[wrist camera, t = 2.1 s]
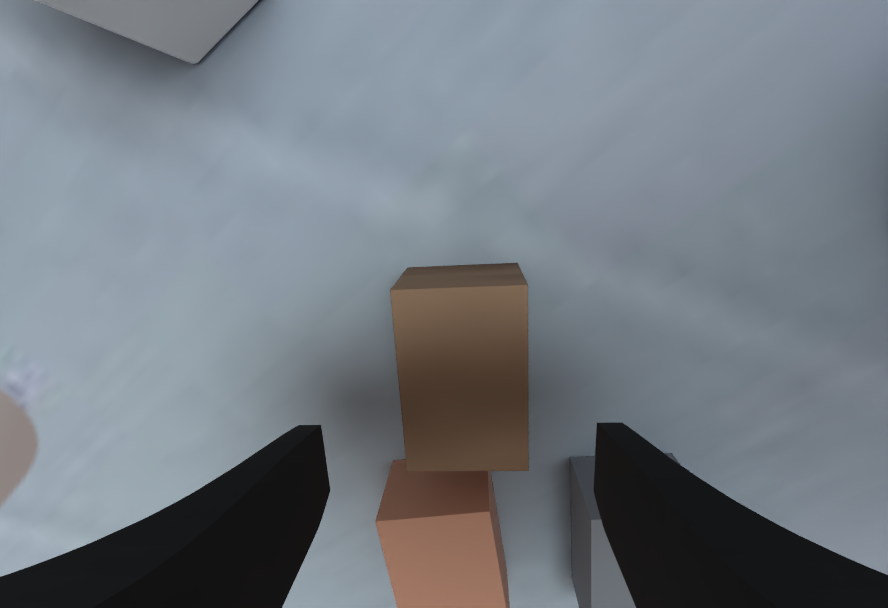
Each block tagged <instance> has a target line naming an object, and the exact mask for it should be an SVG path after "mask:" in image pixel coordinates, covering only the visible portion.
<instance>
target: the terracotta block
mask: <svg viewBox="0 0 888 608" xmlns="http://www.w3.org/2000/svg"><path fill="white" fill-rule="evenodd" d="M375 522H376V526H377V530H378V534H379V538H380V542H381V546H382V550H383V553H384V557H385V561H386V565H387V569H388V573H389V577H390V581H391V585H392V588H393V592H394V596H395V600H396V604H397V608H510V606H509V593H508V580H507V569H506V562H505V556H504V550H503V544H502V538H501V532H500V526H499V520H498V514H497V508H496V502H495V496H494V490H493V484H492V478H491V472H490V471H407V465H406V459H405V460H396V461H393V463H392V466H391V470H390V473H389V477H388V480H387V484H386V487H385V490H384V494H383V497H382V501H381V504H380V507H379V511H378V514H377V518H376V521H375Z"/></svg>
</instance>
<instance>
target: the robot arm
mask: <svg viewBox="0 0 888 608" xmlns="http://www.w3.org/2000/svg"><path fill="white" fill-rule="evenodd" d="M593 491H594V495H595V499H596V503H597V507H598V510H599V514H600V517H601V521H602V524H603V528H604V531H605V533H606V536H607V538H608V541H609V543H610V546H611V548H612V551H613V553H614V556H615V558H616V561H617V563H618V565H619V568H620V570H621V573H622V575H623V577H624V580H625V582H626V585H627V587H628V589H629V592H630V594H631V597H632V599H633V601H634V604H635V606H636V608H888V575H886V574H883V573H881V572H879V571H876V570H874V569H871V568H869V567H866V566H864V565H862V564H860V563H857V562H855V561H853V560H850V559H848V558H846V557H844V556H841V555H839V554H837V553H835V552H833V551H830V550H828V549H826V548H824V547H822V546H820V545H818V544H816V543H814V542H812V541H809V540H807V539H805V538H803V537H801V536H799V535H797V534H795V533H793V532H791V531H789V530H787V529H785V528H783V527H781V526H779V525H777V524H775V523H774V522H772V521H770V520H768V519H766V518H765V517H763V516H761V515H759V514H757V513H756V512H754V511H752V510H750V509H748V508H746V507H745V506H743V505H741V504H740V503H738V502H736V501H734V500H733V499H731V498H729V497H728V496H726V495H725V494H723V493H722V492H720V491H718V490H717V489H715V488H714V487H712V486H711V485H709V484H707V483H706V482H704V481H703V480H701V479H700V478H698V477H697V476H695V475H694V474H692V473H691V472H689V471H688V470H687V469H685V468H684V467H682V466H681V465H679V464H678V463H677V462H675V461H674V460H672V459H671V458H670V457H668V456H667V455H666V454H664V453H663V452H661V451H660V450H659V449H657V448H656V447H655V446H653V445H652V444H651V443H649V442H648V441H647V440H645V439H644V438H643V437H641V436H640V435H639V434H637V433H636V432H635V431H633V430H632V429H630V428H629V427H628V426H626V425H625V424H623V423H597V433H596V452H595V471H594V490H593ZM329 493H330V485H329V478H328V471H327V464H326V457H325V450H324V443H323V436H322V429H321V425H298V426H297V427H295V428H293V429H291V430H290V431H288V432H287V433H285V434H283V435H282V436H280V437H279V438H277V439H276V440H274V441H273V442H271V443H270V444H268V445H267V446H266V447H264V448H263V449H261V450H260V451H258V452H257V453H255V454H254V455H252V456H251V457H249V458H248V459H246V460H245V461H243V462H242V463H240V464H239V465H237V466H236V467H234V468H233V469H231V470H229V471H228V472H226V473H224V474H223V475H221V476H220V477H218V478H216V479H215V480H213V481H212V482H210V483H208V484H207V485H205V486H204V487H202V488H200V489H199V490H197V491H195V492H194V493H192V494H190V495H188V496H187V497H185V498H183V499H181V500H179V501H178V502H176V503H174V504H172V505H170V506H168V507H166V508H164V509H162V510H160V511H159V512H157V513H155V514H153V515H151V516H149V517H147V518H145V519H143V520H141V521H138V522H136V523H134V524H132V525H130V526H127V527H125V528H123V529H121V530H119V531H116V532H114V533H112V534H110V535H108V536H105V537H103V538H101V539H99V540H97V541H94V542H92V543H90V544H87V545H85V546H82V547H80V548H77V549H75V550H72V551H70V552H67V553H65V554H62V555H60V556H57V557H55V558H52V559H49V560H47V561H44V562H41V563H39V564H36V565H33V566H31V567H28V568H25V569H22V570H19V571H16V572H14V573H11V574H8V575H5V576H2V577H0V608H282V606H283V604H284V602H285V600H286V597H287V595H288V593H289V591H290V589H291V587H292V584H293V582H294V580H295V578H296V576H297V574H298V572H299V569H300V567H301V565H302V563H303V561H304V559H305V556H306V554H307V552H308V550H309V548H310V545H311V543H312V541H313V539H314V537H315V534H316V532H317V530H318V527H319V525H320V522H321V519H322V516H323V513H324V509H325V506H326V503H327V499H328V496H329Z"/></svg>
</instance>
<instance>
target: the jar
mask: <svg viewBox="0 0 888 608" xmlns="http://www.w3.org/2000/svg"><path fill="white" fill-rule="evenodd" d="M34 1H37V2H39V3H41V4H44V5H46V6H49V7H51V8H54V9H56V10H59V11H61V12H64V13H66V14H69V15H71V16H74V17H76V18H79V19H81V20H84V21H86V22H89V23H91V24H94V25H96V26H99V27H101V28H104V29H106V30H108V31H111V32H113V33H116V34H118V35H121V36H123V37H126V38H128V39H131V40H133V41H136V42H138V43H141V44H143V45H146V46H148V47H151V48H153V49H156V50H158V51H161V52H163V53H166V54H168V55H170V56H173V57H175V58H178V59H180V60H183V61H185V62H188V63H191V64H196V63H198V62H199V61H200V60H201V59H202V58H203V57H204V56H205V55H206V54H207V53H208V52H209V51H210V50H211V49H212V48H213V47H214V46H215V45H216V44H217V43H218V42H219V41H220V40H221V38H222V37H223V36H224V35H225V34H226V33H227V32H228V31H229V30H230V29H231V28H232V27H233V26H234V25H235V24H236V23H237V22H238V21H239V20H240V19H241V18H242V17H243V16H244V15H245V14H246V13H247V12H248V11H249V10H250V9H251V8H252V7H253V6H254V5H255V4H256V3H257V2H258V1H259V0H34Z"/></svg>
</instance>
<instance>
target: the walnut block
mask: <svg viewBox="0 0 888 608" xmlns="http://www.w3.org/2000/svg"><path fill="white" fill-rule="evenodd" d="M390 292H391V303H392V314H393V325H394V335H395V346H396V357H397V368H398V379H399V389H400V400H401V411H402V422H403V432H404V443H405V454H406V465H407V471H529V452H528V284H527V282H526V280H525V278H524V276H523V274H522V272H521V270H520V268H519V266H518V263H502V264H479V265H456V266H432V267H409V268H407V269H406V270H405V272H404V273H403V274H402V276H401V277H400V278H399V279H398V281H397V282H396V283H395V285H394V286H393V287H392V288H391V290H390Z"/></svg>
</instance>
